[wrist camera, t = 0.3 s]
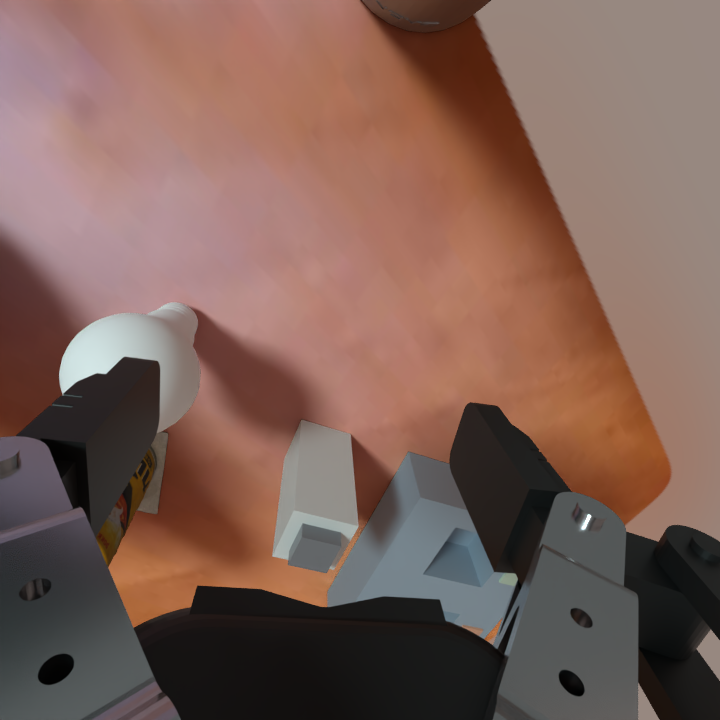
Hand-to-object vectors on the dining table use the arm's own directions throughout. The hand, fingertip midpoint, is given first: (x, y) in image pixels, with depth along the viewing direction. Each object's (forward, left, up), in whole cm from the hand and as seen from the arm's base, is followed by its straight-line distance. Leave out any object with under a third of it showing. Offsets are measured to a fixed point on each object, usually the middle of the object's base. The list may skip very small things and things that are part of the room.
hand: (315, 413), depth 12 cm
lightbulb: (+7, -7, -18) cm, 21 cm away
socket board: (+21, +19, -18) cm, 33 cm away
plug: (+14, +5, -18) cm, 23 cm away
